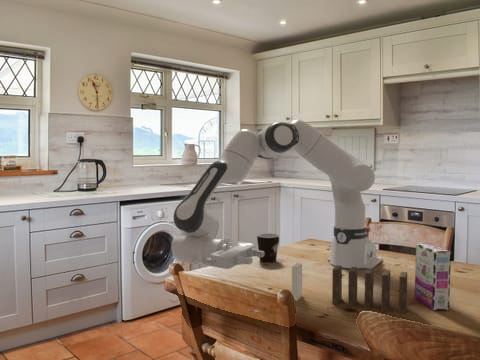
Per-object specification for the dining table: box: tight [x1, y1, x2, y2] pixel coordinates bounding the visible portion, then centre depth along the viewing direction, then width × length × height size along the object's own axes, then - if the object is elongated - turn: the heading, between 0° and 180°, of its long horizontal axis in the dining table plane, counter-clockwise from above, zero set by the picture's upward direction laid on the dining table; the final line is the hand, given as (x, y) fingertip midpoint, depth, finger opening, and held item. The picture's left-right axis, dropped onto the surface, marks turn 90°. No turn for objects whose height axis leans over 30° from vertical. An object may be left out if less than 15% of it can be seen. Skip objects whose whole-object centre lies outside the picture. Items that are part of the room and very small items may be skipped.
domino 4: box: [380, 269, 391, 312], centre depth 125 cm, size 2×5×10 cm, turn 155°
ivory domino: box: [291, 262, 303, 302], centre depth 134 cm, size 2×5×10 cm, turn 156°
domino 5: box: [398, 271, 408, 315], centre depth 123 cm, size 2×5×10 cm, turn 155°
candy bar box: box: [414, 242, 452, 312], centre depth 128 cm, size 11×5×16 cm, turn 5°
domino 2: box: [347, 267, 359, 308], centre depth 129 cm, size 2×5×10 cm, turn 155°
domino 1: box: [331, 265, 343, 305], centre depth 131 cm, size 2×5×10 cm, turn 155°
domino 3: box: [364, 268, 375, 310], centre depth 127 cm, size 2×5×10 cm, turn 155°
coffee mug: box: [256, 232, 280, 264], centre depth 178 cm, size 12×9×10 cm
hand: (257, 257), depth 139 cm, fingers open, 8 cm apart
